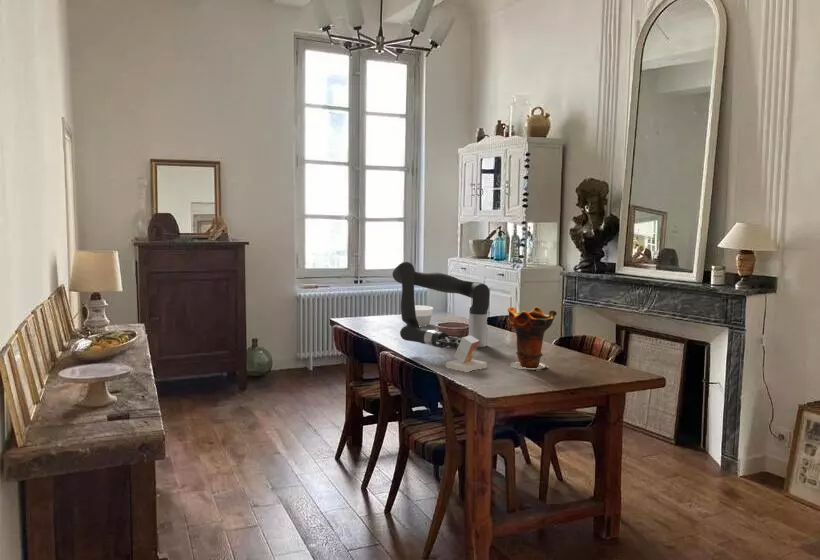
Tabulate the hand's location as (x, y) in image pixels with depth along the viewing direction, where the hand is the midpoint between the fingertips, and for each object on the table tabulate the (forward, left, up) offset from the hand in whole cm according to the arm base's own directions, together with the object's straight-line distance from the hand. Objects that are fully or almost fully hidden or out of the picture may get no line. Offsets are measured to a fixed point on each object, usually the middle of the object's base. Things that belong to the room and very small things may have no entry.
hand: (462, 344), depth 296 cm
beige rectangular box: (0, +3, -10) cm, 11 cm away
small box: (0, 0, -7) cm, 7 cm away
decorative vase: (-24, +20, -11) cm, 33 cm away
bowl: (-64, -88, -11) cm, 109 cm away
